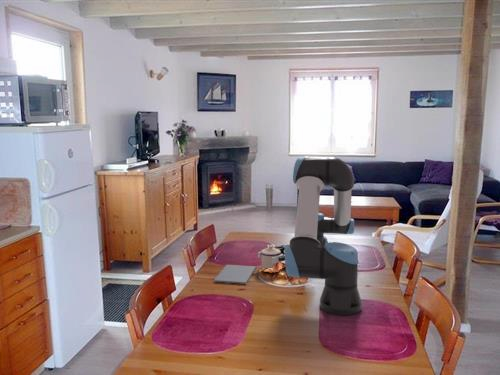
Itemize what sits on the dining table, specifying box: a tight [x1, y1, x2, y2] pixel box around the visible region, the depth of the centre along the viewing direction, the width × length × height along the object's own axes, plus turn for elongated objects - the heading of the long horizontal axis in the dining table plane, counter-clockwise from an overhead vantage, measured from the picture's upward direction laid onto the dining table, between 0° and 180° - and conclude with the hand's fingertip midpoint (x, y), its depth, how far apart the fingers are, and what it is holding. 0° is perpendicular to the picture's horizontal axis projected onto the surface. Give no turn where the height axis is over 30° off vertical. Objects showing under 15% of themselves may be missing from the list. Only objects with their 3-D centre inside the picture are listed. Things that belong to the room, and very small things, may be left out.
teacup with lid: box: [260, 244, 282, 270], centre depth 201 cm, size 12×9×12 cm
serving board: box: [213, 264, 257, 285], centre depth 195 cm, size 20×14×1 cm
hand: (265, 257), depth 197 cm, fingers closed on teacup with lid, 9 cm apart
